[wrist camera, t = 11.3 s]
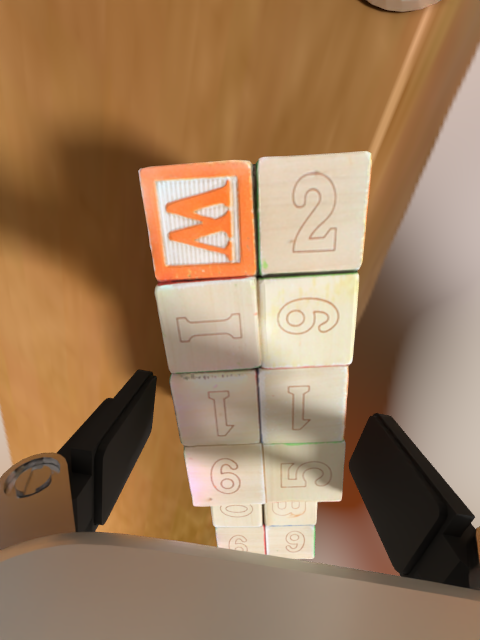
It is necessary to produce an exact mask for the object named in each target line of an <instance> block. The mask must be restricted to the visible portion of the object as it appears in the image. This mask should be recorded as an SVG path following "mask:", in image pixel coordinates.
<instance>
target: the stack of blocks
mask: <svg viewBox="0 0 480 640" xmlns="http://www.w3.org/2000/svg"><path fill="white" fill-rule="evenodd" d="M371 169H372V157H371V153H370V152H367V151H360V152H348V153H331V154H315V155H298V156H276V157H262V158H259V160H258V161H257V163H256V164H252V163H251V162H250V161H245V160H228V161H215V162H201V163H187V164H176V165H164V166H152V167H146V168H141V169H140V170H139V171H138V173H139V179H140V186H141V193H142V199H143V204H144V210H145V216H146V222H147V228H148V235H149V242H150V248H151V253H152V260H153V266H154V273H155V277H156V279H157V281H158V284H157V285H156V287H155V297H156V302H157V307H158V314H159V319H160V323H161V329H162V335H163V341H164V346H165V351H166V357H167V362H168V367H169V370H170V372H171V373H172V374H171V375H170V381H169V383H170V387H171V394H172V399H173V403H174V409H175V414H176V420H177V425H178V430H179V436H180V441H181V443H182V444H183V445H184V458H185V463H186V469H187V474H188V480H189V485H190V491H191V495H192V501H193V505H194V506H210V507H211V514H212V521H213V525H214V526H215V529H216V539H217V547H220V548H226V549H233V550H239V551H246V552H252V553H259V554H265V555H272V556H278V557H284V558H290V559H311V558H312V559H313V558H314V556H315V524H316V521H317V502H337V501H341V499H342V487H343V469H344V459H345V441H344V431H345V422H346V401H347V392H348V377H349V373H348V366H349V365H350V363H351V362H352V356H353V347H354V337H355V325H356V312H357V300H358V288H359V274H358V272H357V270H358V269H359V268H360V266H361V264H362V262H363V250H364V240H365V230H366V220H367V210H368V200H369V190H370V179H371Z"/></svg>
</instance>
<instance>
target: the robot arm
mask: <svg viewBox="0 0 480 640" xmlns="http://www.w3.org/2000/svg"><path fill="white" fill-rule="evenodd" d="M367 1H368V2H369V3H371V4H373V5H375V6H378V7H380V8H383V9H385V10H391V11H400V12H405V11H412V10H420V9H422V8H425V7H428V6H430V5H433V4H436V3H438V2H439V1H441V0H367ZM156 381H157V377H156V376H153V373H152V372H150V371H144V370H137V371H136V373H135V374H134V375H133V376H132V377H131V378H130V380H129V381H128V382H127V383H126V384H125V385H124V387H123V388H122V389H121V390H120V391H119V392H118V394H117V395H116V396H115V397H114V398H107V399H106V400H104V401H103V402H102V404H101V405H100V406H99V407H98V408H97V409H96V410H95V411H94V412H93V414H92V415H91V416H90V417H89V418H88V419H87V420H86V421H85V422H84V424H83V425H82V426H81V427H80V428H79V429H78V430H77V431H76V432H75V433H74V435H73V436H72V437H71V438H70V439H69V440H68V441H67V442H66V443H65V445H64V446H63V447H62V448H61V449H60V450H59V451H58V452H57V453H41V454H37V455H33V456H30V457H28V458H25V459H23V460H21V461H20V462H18V463H16V464H15V465H13V466H12V467H11V468H10V469H8V470H7V471H6V472H5V473H4V474H3V475H2V476H1V478H0V640H480V526H479V527H478V528H476V529H475V528H474V527H473V526H472V524H471V522H472V521H473V519H474V518H475V516H474V515H473V514H472V513H471V511H470V510H469V509H468V508H467V506H466V505H465V504H464V503H463V502H462V500H461V499H460V498H459V497H458V496H457V494H456V493H455V492H454V491H453V490H452V488H451V487H450V486H449V485H448V484H447V482H446V481H445V480H444V479H443V478H442V476H441V475H440V474H439V473H438V472H437V470H436V469H435V468H434V467H433V466H432V465H431V463H430V462H429V461H428V460H427V458H426V457H425V456H424V455H423V454H422V453H421V452H420V450H419V449H418V448H417V447H416V445H415V444H414V443H413V442H412V441H411V439H410V438H409V437H408V436H407V435H406V433H404V431H403V430H402V429H401V427H400V426H399V425H398V424H397V423H396V421H395V420H394V419H393V418H392V417H391V416H389V415H383V414H378V413H376V414H374V415H373V416H370V417H369V419H368V421H367V423H366V426H365V428H364V430H363V433H362V434H361V437H360V439H359V441H358V443H357V446H356V448H355V450H354V452H353V455H352V457H351V459H350V462H349V469H350V472H351V474H352V477H353V479H354V481H355V483H356V485H357V488H358V490H359V492H360V494H361V496H362V499H363V501H364V503H365V505H366V508H367V510H368V512H369V514H370V516H371V518H372V521H373V523H374V525H375V527H376V529H377V532H378V534H379V536H380V538H381V541H382V543H383V545H384V547H385V550H386V552H387V554H388V556H389V558H390V560H391V563H392V565H393V567H394V568H395V570H396V571H397V572H399V573H400V576H395V575H389V574H383V573H376V572H371V571H364V570H359V569H353V568H347V567H340V566H334V565H328V564H322V563H315V562H309V561H303V560H297V559H290V558H284V557H278V556H272V555H265V554H259V553H252V552H246V551H239V550H233V549H226V548H220V547H213V546H207V545H200V544H194V543H187V542H181V541H174V540H166V539H158V538H151V537H143V536H136V535H128V534H118V533H104V532H95V530H96V529H97V527H98V525H104V524H105V522H106V521H107V519H108V517H109V515H110V513H111V511H112V509H113V507H114V505H115V503H116V501H117V499H118V497H119V495H120V493H121V491H122V489H123V487H124V485H125V483H126V481H127V479H128V477H129V475H130V473H131V471H132V469H133V467H134V465H135V463H136V461H137V459H138V457H139V455H140V453H141V451H142V449H143V447H144V445H145V443H146V441H147V439H148V437H149V435H150V433H151V429H152V422H153V412H154V401H155V391H156Z"/></svg>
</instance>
